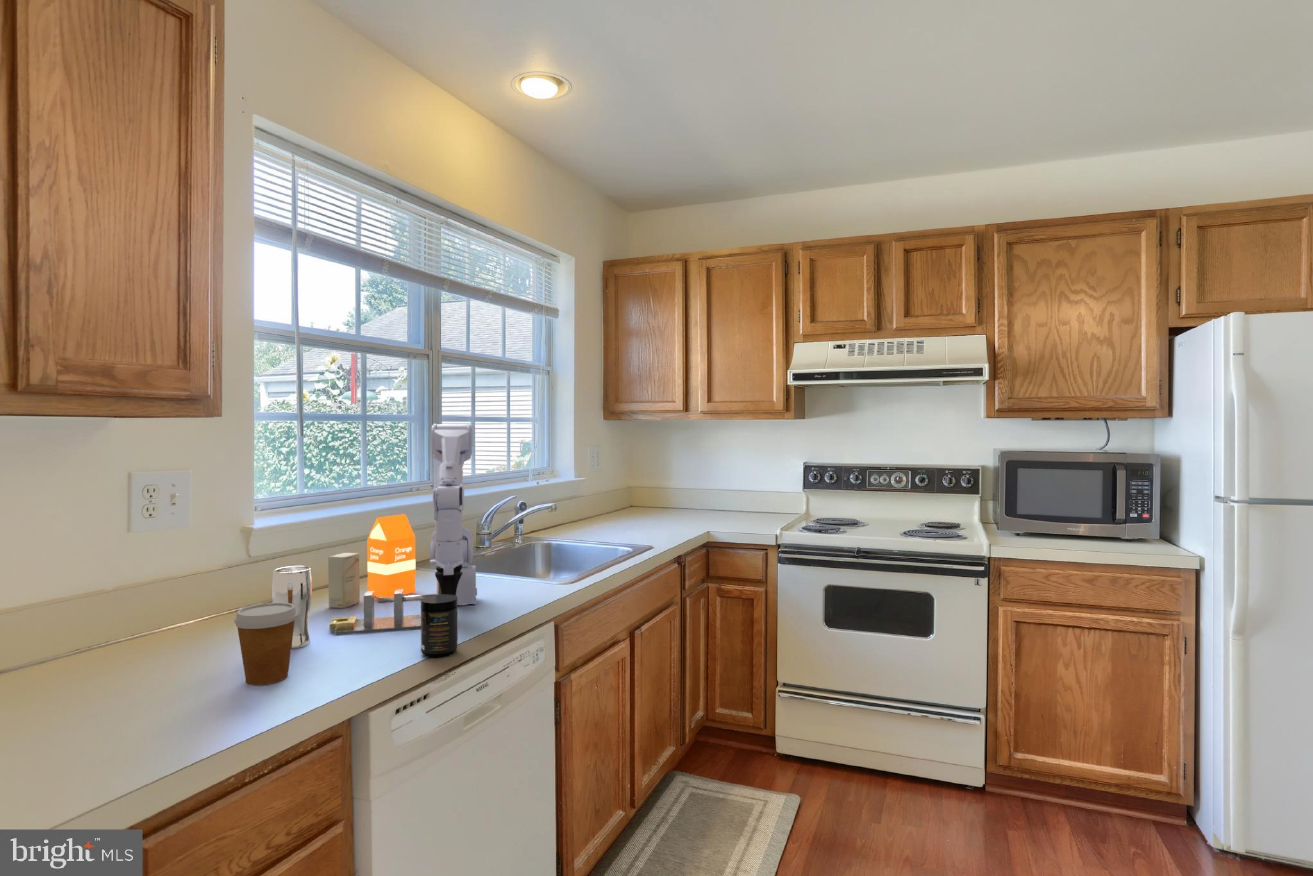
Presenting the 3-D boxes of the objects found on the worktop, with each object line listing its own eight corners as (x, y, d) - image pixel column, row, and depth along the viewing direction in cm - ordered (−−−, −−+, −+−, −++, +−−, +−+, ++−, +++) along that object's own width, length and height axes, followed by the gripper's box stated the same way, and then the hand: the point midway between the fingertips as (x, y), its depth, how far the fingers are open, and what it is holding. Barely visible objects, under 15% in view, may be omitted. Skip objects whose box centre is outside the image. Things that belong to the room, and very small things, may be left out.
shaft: (449, 605, 155) (449, 581, 155) (449, 608, 153) (449, 583, 152) (379, 610, 151) (379, 585, 151) (378, 613, 148) (377, 588, 148)
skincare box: (344, 608, 164) (343, 557, 163) (327, 607, 165) (327, 556, 164) (360, 602, 170) (360, 552, 170) (344, 601, 171) (344, 551, 170)
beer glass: (320, 642, 139) (319, 567, 138) (288, 652, 132) (288, 574, 132) (296, 637, 142) (295, 564, 141) (264, 647, 135) (263, 570, 135)
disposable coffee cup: (253, 693, 112) (253, 619, 112) (223, 682, 117) (222, 611, 117) (310, 675, 120) (309, 606, 120) (279, 665, 125) (278, 599, 125)
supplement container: (463, 654, 132) (463, 599, 131) (428, 661, 127) (427, 605, 127) (450, 645, 137) (449, 592, 137) (415, 652, 133) (415, 597, 133)
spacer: (357, 616, 151) (333, 617, 149) (353, 622, 146) (329, 624, 145) (357, 621, 151) (333, 623, 150) (353, 628, 146) (329, 630, 145)
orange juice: (367, 595, 177) (366, 516, 176) (396, 588, 184) (396, 513, 184) (387, 599, 173) (386, 519, 172) (416, 591, 180) (415, 515, 180)
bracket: (428, 616, 157) (428, 585, 157) (427, 628, 148) (426, 594, 148) (342, 623, 152) (342, 590, 152) (335, 635, 143) (335, 600, 143)
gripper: (431, 535, 159) (431, 594, 159) (428, 546, 145) (428, 610, 146) (463, 534, 161) (463, 592, 161) (463, 544, 147) (463, 608, 147)
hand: (449, 601), depth 154 cm, fingers open, 5 cm apart
